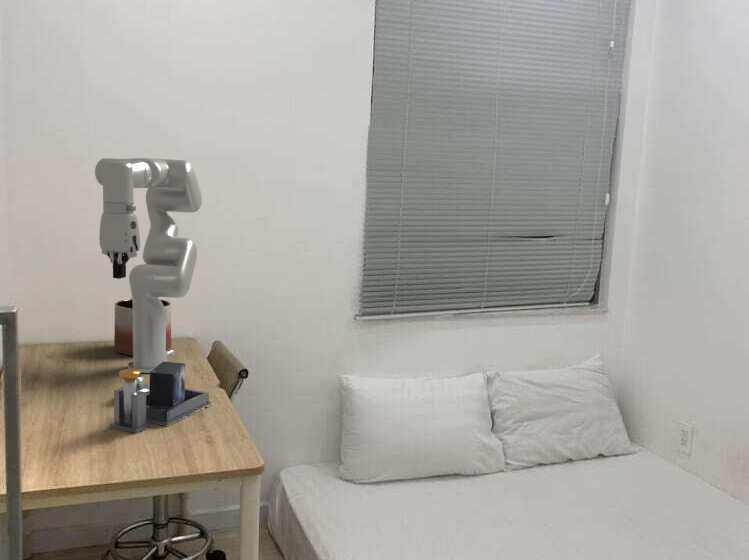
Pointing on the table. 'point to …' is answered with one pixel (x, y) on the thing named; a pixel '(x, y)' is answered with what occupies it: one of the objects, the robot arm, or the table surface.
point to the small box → (167, 385)
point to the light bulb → (129, 391)
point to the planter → (125, 326)
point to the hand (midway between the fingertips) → (119, 277)
